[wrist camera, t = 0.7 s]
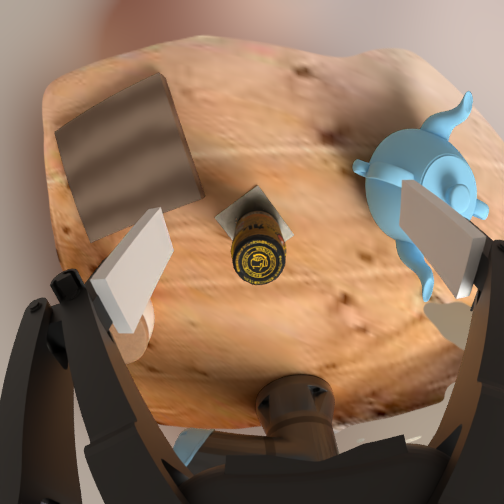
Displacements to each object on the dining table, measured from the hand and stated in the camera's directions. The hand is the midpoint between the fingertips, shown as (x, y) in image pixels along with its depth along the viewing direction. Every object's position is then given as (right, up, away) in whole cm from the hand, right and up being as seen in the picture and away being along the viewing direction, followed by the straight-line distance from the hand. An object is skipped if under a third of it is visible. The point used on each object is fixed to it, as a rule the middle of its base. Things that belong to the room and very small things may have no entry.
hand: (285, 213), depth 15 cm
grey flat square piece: (-19, +11, +21) cm, 31 cm away
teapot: (+21, +8, +22) cm, 31 cm away
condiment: (-1, +2, +25) cm, 25 cm away
